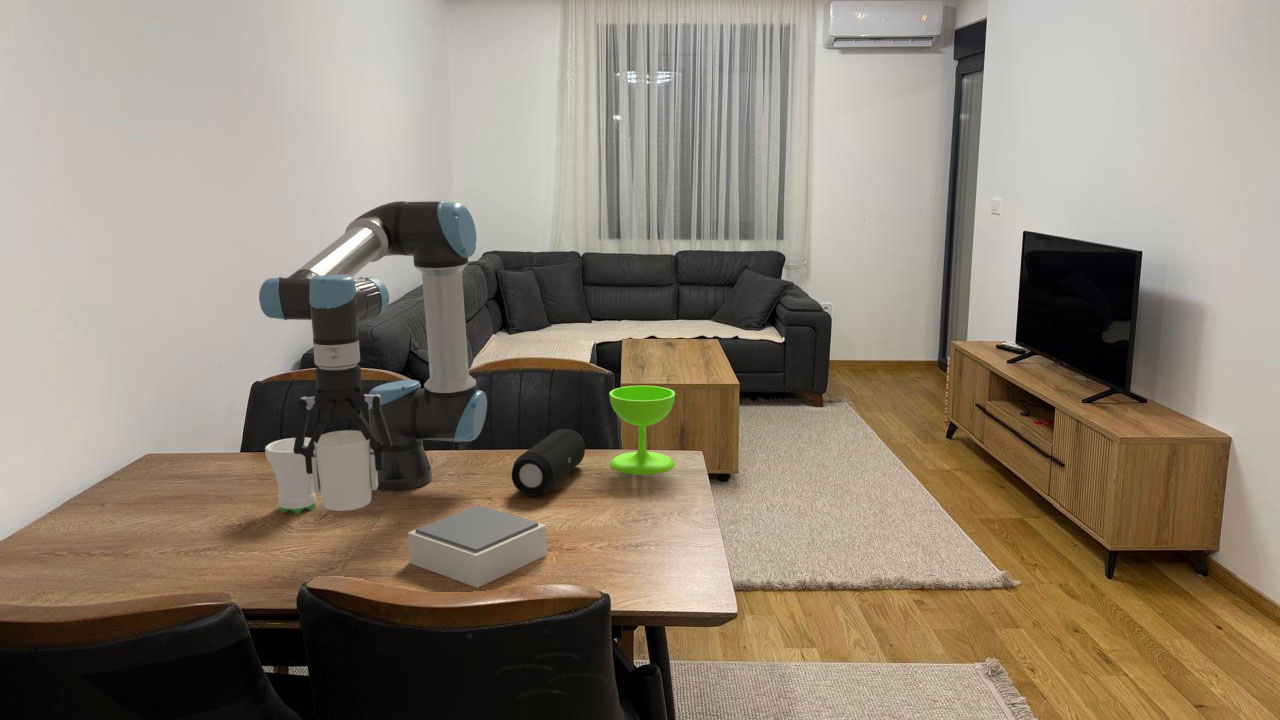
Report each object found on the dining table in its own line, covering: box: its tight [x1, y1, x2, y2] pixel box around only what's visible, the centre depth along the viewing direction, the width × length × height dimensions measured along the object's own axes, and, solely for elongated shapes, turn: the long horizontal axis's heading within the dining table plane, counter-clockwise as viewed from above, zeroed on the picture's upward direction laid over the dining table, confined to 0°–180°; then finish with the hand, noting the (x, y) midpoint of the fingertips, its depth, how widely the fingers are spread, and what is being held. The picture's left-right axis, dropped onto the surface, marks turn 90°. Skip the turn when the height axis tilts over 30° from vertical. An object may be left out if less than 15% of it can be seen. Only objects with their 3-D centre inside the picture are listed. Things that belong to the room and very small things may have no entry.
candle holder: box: [314, 429, 373, 512], centre depth 173 cm, size 10×10×12 cm
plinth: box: [407, 504, 548, 589], centre depth 184 cm, size 18×18×7 cm
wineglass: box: [608, 385, 676, 476], centre depth 239 cm, size 16×16×18 cm
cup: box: [264, 437, 317, 515], centre depth 209 cm, size 11×11×14 cm
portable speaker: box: [511, 428, 586, 496], centre depth 228 cm, size 26×10×10 cm, turn 164°
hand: (346, 488), depth 174 cm, fingers closed on candle holder, 9 cm apart
